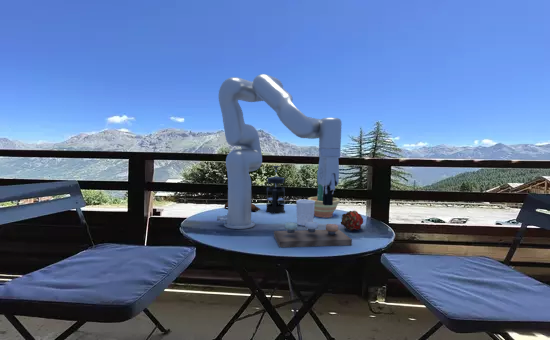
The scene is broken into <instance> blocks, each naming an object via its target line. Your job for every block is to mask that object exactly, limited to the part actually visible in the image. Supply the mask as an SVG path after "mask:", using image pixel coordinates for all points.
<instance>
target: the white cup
mask: <svg viewBox="0 0 550 340" xmlns="http://www.w3.org/2000/svg"><path fill="white" fill-rule="evenodd" d="M295 202H296V205H295V206H296V207H295V208H296V223H297V226H301V227H305V226H306V222H314V217H315V215H314V208H315V201H313V200H308V199H298V200H296V201H295Z"/></svg>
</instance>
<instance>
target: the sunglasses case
mask: <svg viewBox="0 0 550 340" xmlns="http://www.w3.org/2000/svg"><path fill="white" fill-rule="evenodd" d="M225 207H228V201H227V202H225V204H224V208H225ZM258 210H259V211H260V210H261V208H259V206H257V205H255V203H252V202H251V212H252V211H253V212H254V213H257V212H258Z"/></svg>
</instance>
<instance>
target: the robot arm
mask: <svg viewBox="0 0 550 340" xmlns="http://www.w3.org/2000/svg"><path fill="white" fill-rule="evenodd" d="M219 87H220V88H219V90H218V104H219V107H220V111H221V116H222V123H223V129H224V136H225V140H226V142H227V144H228V145H229V146H232V147H240V149H234V150H231V151H230V152H229V153H228V154H227V155H226V158H225V166H226V172H227V173H226V174H227V188H228V189H227V202H228V208H227V213H226V214H224V215H217V216H216V221H217V222H218V221H219V222H223V225H224V227H225V228H228V229H235V230H246V229H251V228H253V227H255V224H256V223H255V221H253V220H252V210H251V203H252V179H251V176H250V172H254V171H257V170H259V169H260V167H261V166H262V162H263V153H262V148H261V142H260V136H259V133H258V130H257V129H256V127H255V126H253V125H252V124H249V123H248V124H247V123H245V119H244V113H243V109H242V106H241V105H240V103H239V101H243V102H247V103H256V102H257V103H258V102H265V104H267V105H268V106H269V107H270V108H271V109H272V110H273V111H274V112H275V114H276V115H277V117H278V119H279V121H280V122H281V123H282V124H283V125H284V127H286V128H287V129H288V130H289V131H290V132H291V133H292V134H293V135H294V136H296V137H298V138H300V139H309V140H314V139H318V158H319V161H318V168H317V171H318V180H317V179H316V182H317V181H318V182H317V184H318V183H319V184H321V185H322V186H323V205H333V198H334V191H336V187H337V186H338V185H339V180H340V179H339V178H340V167H339V166H340V164H339V159H341V142H342V125H343V123H342V120H341V118H338V117H323V118H315V117H310V116H306V115H305V114H304V113H303V112H302V111H301V110H300V109H299V108H298V107H296V106H295V104H294V103H293V95H292V94H291V93H289V92H288V90H286V89H285V88H284V85H283V83H282V81H281V80H280V79H278V78H277V77H275V76H272V75H269V74H266V73H261V74H258V75H256V76H255V77H254V78H253V80H252V81H250V80H247V79H245V78H241V77H236V76H231V77H228V78H226V79H225V80H224V81H223V82H222V83H221V85H220V86H219Z"/></svg>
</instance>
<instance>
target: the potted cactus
mask: <svg viewBox="0 0 550 340" xmlns="http://www.w3.org/2000/svg"><path fill="white" fill-rule="evenodd" d="M317 180H318V170H317V171H316V182H317V194H316V196H310V197H308V198H307V200H313V201H315V208H314V217H318V218H332V217H333V213H334V212H335V211H336V209H337V207H338V205H339V204H340V202H341V199H339V198H338V197H333V205H323V186H322V185H321V184H319V183H318V181H317Z"/></svg>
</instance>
